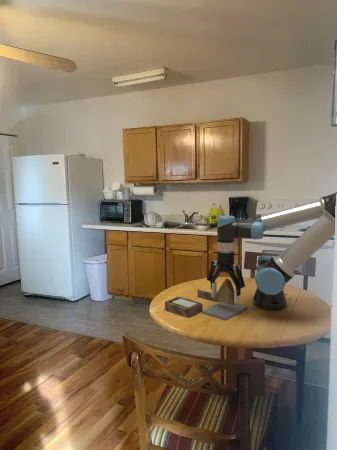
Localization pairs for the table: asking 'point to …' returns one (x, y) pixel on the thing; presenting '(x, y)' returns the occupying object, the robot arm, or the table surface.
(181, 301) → the pale grey-green block
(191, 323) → the table surface
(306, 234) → the robot arm
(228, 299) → the rock
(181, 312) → the brown frame and bar
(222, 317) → the board
